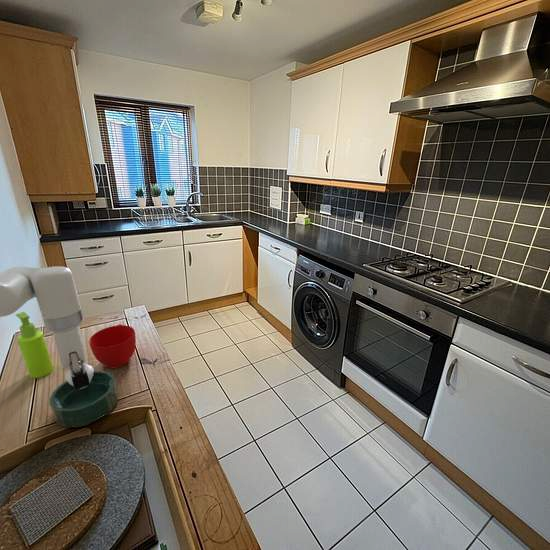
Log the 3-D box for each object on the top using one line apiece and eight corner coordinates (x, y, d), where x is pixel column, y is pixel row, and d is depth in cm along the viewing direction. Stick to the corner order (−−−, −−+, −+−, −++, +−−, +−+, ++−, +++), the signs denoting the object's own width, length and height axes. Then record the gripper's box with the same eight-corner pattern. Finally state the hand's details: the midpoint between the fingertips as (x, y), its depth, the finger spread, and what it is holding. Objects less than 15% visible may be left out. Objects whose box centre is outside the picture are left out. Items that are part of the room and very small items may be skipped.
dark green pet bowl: (57, 440, 69) (50, 421, 67) (54, 402, 80) (48, 384, 78) (123, 411, 77) (120, 393, 75) (113, 380, 88) (109, 364, 86)
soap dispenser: (48, 361, 95) (30, 307, 88) (56, 370, 92) (39, 314, 85) (25, 371, 91) (5, 315, 84) (34, 380, 87) (13, 322, 80)
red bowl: (143, 341, 108) (139, 317, 104) (136, 370, 92) (131, 344, 89) (104, 346, 104) (98, 322, 100) (90, 377, 89) (83, 350, 85)
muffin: (99, 374, 80) (93, 353, 77) (93, 390, 74) (87, 368, 72) (73, 379, 78) (66, 357, 75) (65, 395, 72) (58, 372, 70)
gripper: (43, 308, 73) (61, 366, 80) (45, 340, 60) (66, 406, 67) (78, 301, 77) (92, 356, 84) (87, 329, 65) (103, 392, 71)
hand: (80, 378), depth 75 cm, fingers closed on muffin, 6 cm apart
